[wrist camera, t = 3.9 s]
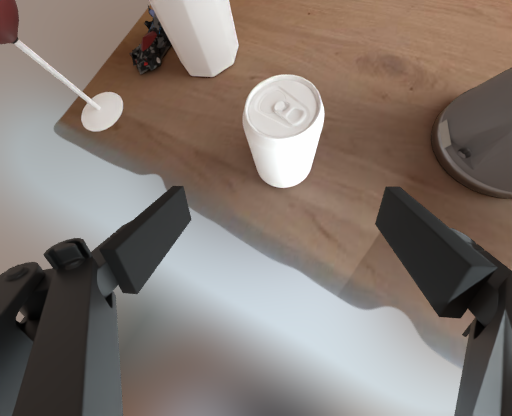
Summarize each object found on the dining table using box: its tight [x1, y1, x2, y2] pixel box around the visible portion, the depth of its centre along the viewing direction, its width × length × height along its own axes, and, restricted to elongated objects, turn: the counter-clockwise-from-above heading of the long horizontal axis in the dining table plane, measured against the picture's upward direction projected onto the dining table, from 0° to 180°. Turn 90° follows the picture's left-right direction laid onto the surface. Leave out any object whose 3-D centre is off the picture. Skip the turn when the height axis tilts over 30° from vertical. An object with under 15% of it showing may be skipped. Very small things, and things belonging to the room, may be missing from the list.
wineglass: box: [0, 0, 123, 131], centre depth 27 cm, size 9×10×23 cm
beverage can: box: [243, 74, 324, 188], centre depth 25 cm, size 8×8×12 cm
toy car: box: [130, 6, 171, 74], centre depth 38 cm, size 6×12×4 cm, turn 156°
